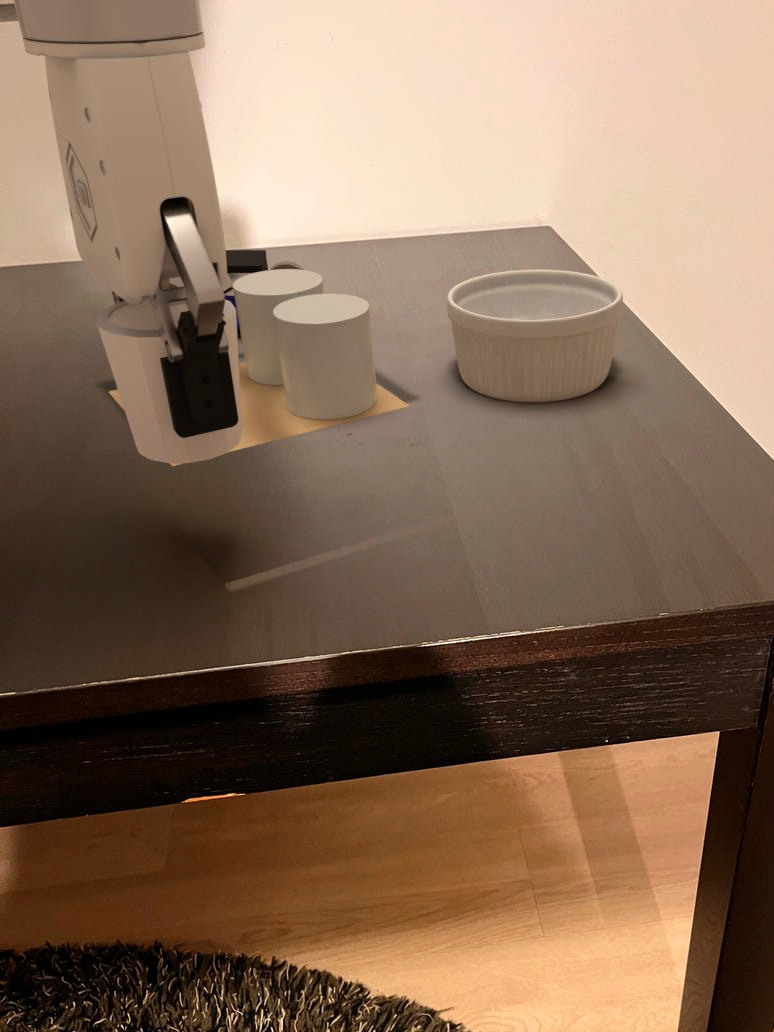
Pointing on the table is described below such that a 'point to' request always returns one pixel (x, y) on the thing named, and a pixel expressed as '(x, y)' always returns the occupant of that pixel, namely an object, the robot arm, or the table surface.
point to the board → (283, 412)
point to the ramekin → (534, 333)
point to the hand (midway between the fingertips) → (182, 402)
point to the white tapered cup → (159, 382)
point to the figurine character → (249, 266)
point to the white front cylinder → (326, 355)
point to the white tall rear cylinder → (267, 316)
